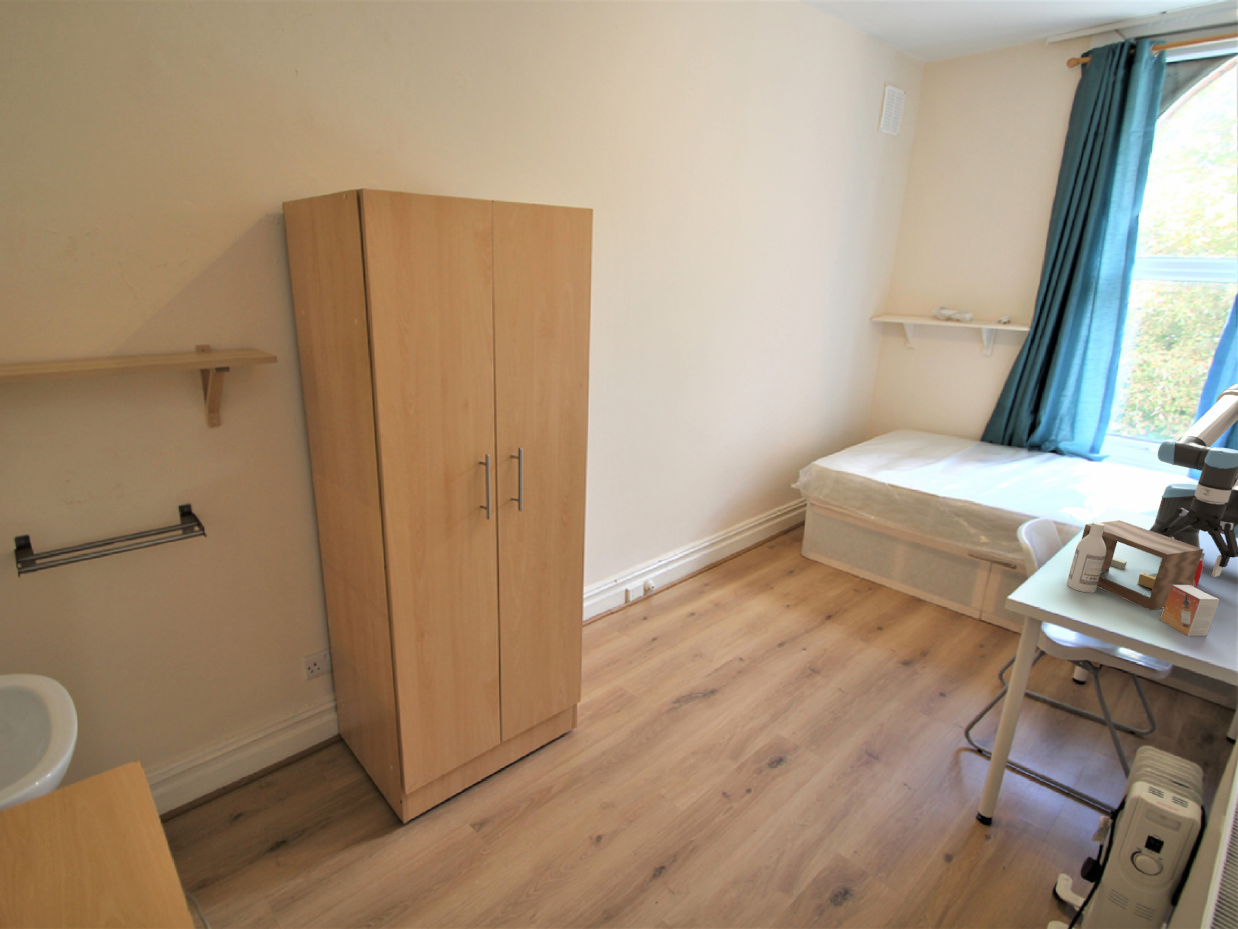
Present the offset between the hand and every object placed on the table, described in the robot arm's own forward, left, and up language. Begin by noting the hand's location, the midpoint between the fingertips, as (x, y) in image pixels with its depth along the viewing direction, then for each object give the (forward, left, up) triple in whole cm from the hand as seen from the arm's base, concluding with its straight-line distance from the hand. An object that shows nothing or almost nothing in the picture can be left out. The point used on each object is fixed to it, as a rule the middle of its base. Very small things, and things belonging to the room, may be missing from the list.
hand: (1189, 566), depth 195 cm
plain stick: (+13, -17, -5) cm, 22 cm away
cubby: (+27, 0, -4) cm, 27 cm away
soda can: (+14, +6, -4) cm, 16 cm away
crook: (+9, +3, -4) cm, 10 cm away
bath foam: (+40, -4, -4) cm, 41 cm away
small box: (+36, +20, -4) cm, 42 cm away
